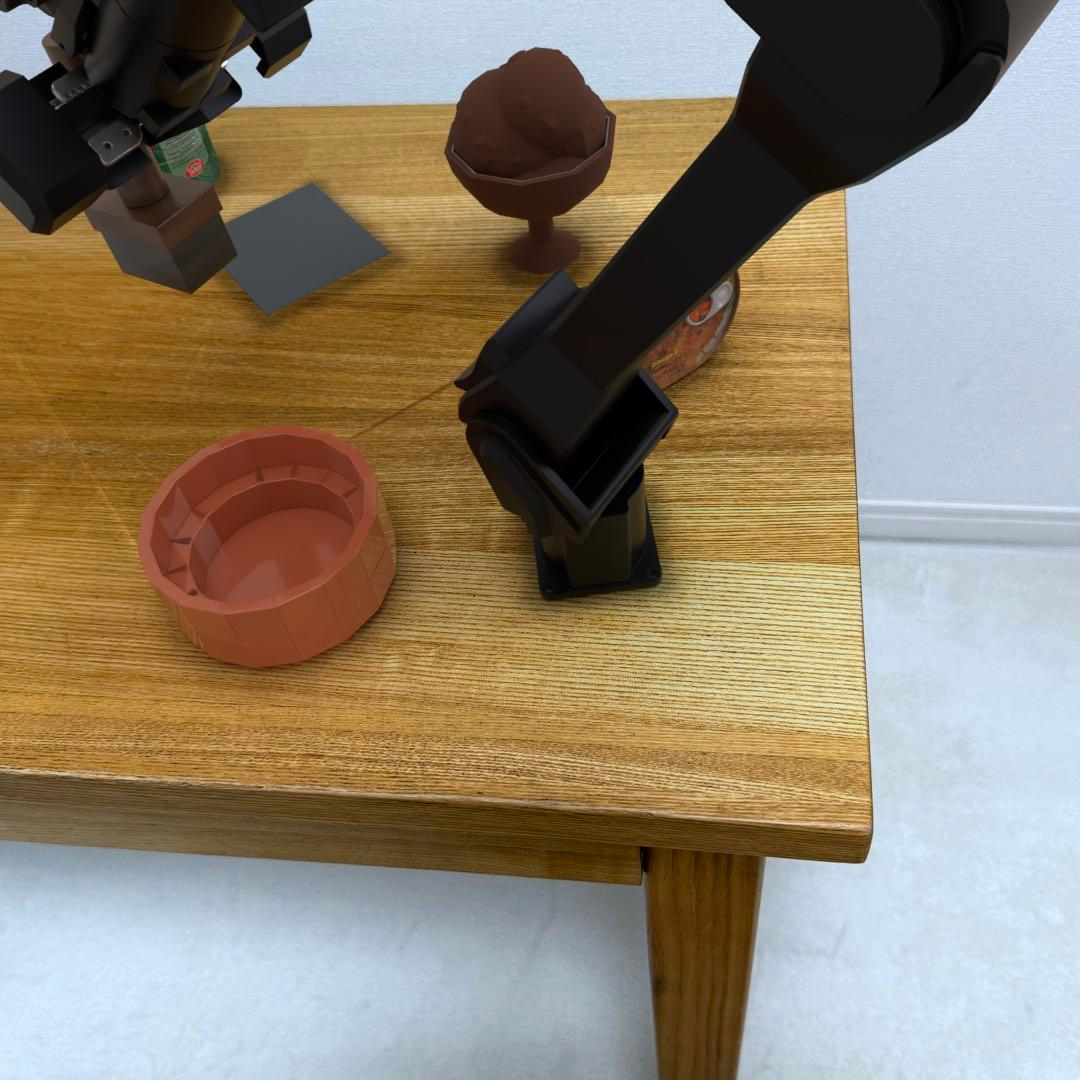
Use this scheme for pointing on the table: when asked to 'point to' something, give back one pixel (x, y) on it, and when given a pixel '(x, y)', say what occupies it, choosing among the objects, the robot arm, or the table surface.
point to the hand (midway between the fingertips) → (111, 156)
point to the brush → (159, 220)
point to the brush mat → (297, 247)
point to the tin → (695, 336)
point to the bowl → (269, 545)
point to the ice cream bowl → (532, 149)
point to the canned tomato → (189, 156)
